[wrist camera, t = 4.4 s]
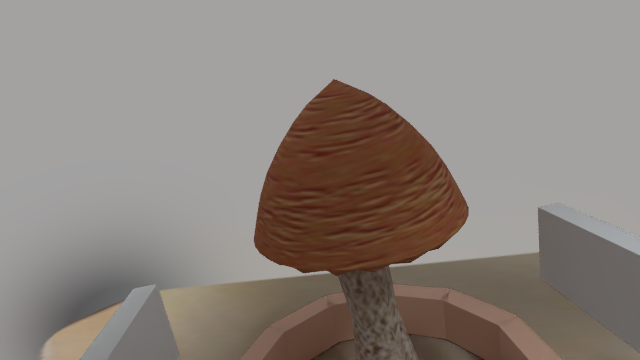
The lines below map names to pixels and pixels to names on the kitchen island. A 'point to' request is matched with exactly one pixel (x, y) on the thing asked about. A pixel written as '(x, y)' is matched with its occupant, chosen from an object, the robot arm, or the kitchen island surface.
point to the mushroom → (358, 207)
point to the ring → (419, 319)
